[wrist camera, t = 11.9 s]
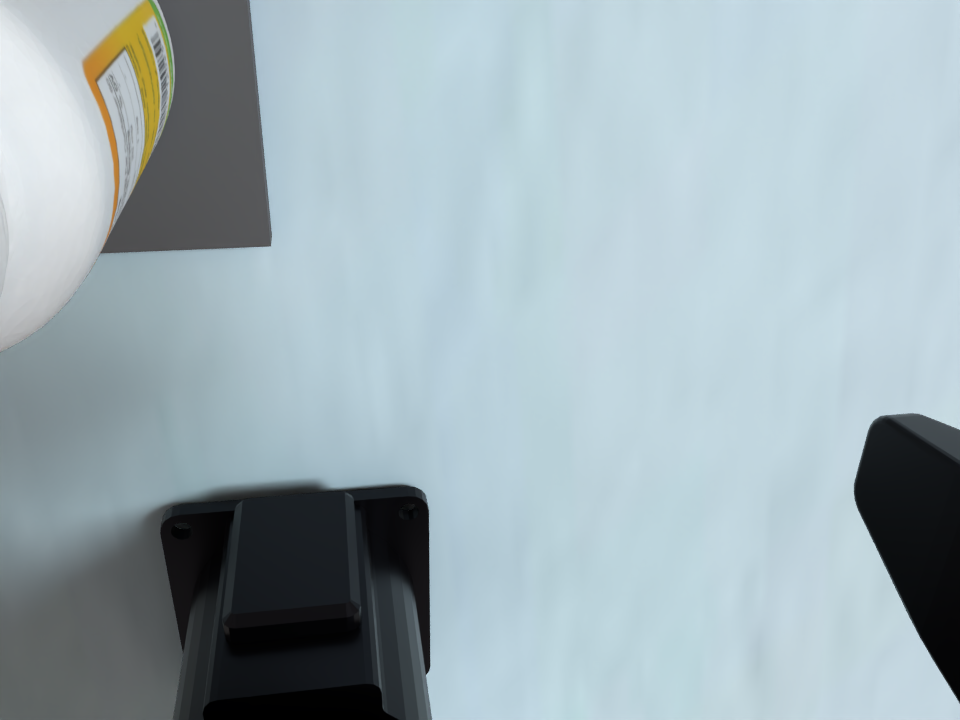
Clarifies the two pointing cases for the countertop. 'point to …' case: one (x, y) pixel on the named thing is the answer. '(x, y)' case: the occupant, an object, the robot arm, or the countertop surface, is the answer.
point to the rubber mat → (203, 142)
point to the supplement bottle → (71, 140)
